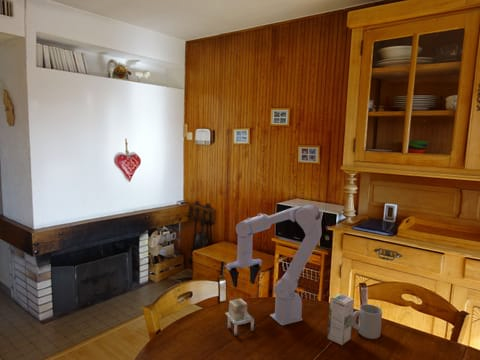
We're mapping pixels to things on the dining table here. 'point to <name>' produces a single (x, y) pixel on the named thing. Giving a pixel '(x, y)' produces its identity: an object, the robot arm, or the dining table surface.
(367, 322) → the cup
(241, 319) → the end pad
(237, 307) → the birch block
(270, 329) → the dining table surface
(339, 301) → the syrup box
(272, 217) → the robot arm
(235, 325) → the small white stool
